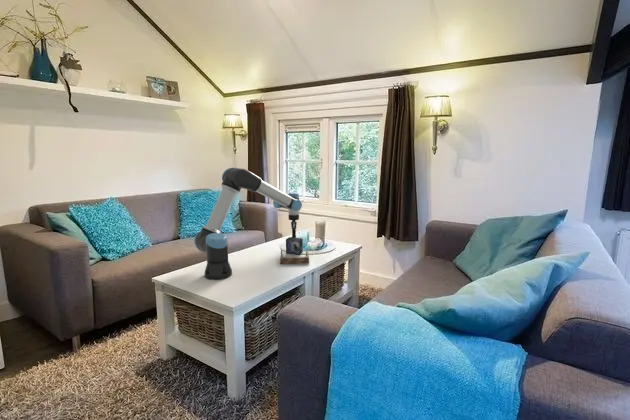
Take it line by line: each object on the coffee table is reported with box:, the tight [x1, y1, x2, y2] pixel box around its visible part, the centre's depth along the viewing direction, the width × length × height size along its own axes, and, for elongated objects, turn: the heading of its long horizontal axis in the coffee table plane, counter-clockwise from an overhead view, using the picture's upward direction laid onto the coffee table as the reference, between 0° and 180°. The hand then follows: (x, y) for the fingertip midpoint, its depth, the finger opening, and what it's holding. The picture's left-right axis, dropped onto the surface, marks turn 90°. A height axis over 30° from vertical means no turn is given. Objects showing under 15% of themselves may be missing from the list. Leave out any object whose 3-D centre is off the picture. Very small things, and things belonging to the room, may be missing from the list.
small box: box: [285, 236, 304, 256], centre depth 235 cm, size 11×6×10 cm, turn 73°
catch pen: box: [279, 248, 310, 265], centre depth 222 cm, size 18×18×4 cm
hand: (294, 246), depth 246 cm, fingers closed
